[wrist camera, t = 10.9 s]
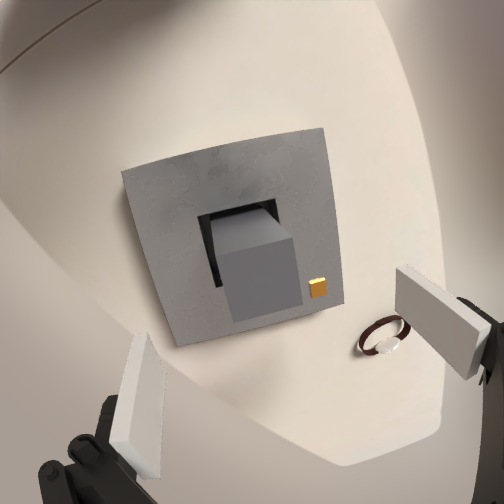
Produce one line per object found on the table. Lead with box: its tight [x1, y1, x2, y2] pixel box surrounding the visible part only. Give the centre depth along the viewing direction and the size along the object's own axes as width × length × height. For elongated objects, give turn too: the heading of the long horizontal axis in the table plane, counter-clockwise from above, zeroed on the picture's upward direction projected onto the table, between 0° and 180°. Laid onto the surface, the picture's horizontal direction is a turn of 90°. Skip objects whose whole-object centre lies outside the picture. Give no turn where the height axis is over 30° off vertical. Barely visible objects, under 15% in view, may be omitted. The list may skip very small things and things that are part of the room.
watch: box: [359, 315, 411, 355], centre depth 38 cm, size 8×5×4 cm, turn 111°
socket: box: [121, 128, 344, 346], centre depth 30 cm, size 18×18×4 cm
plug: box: [210, 204, 303, 323], centre depth 26 cm, size 5×5×12 cm
